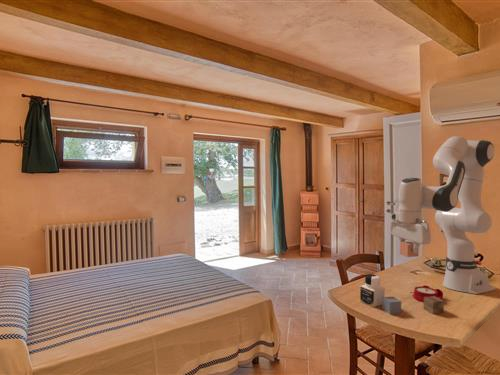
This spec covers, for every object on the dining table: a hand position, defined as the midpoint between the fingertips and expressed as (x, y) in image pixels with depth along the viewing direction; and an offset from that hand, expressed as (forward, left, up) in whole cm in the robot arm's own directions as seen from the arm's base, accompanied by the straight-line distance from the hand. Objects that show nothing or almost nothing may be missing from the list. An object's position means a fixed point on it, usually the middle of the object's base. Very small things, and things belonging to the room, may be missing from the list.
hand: (409, 250), depth 132 cm
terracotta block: (0, 0, -2) cm, 2 cm away
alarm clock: (-16, -8, -24) cm, 30 cm away
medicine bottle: (+12, -7, -24) cm, 28 cm away
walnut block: (-8, +5, -24) cm, 26 cm away
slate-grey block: (+9, +2, -24) cm, 26 cm away
